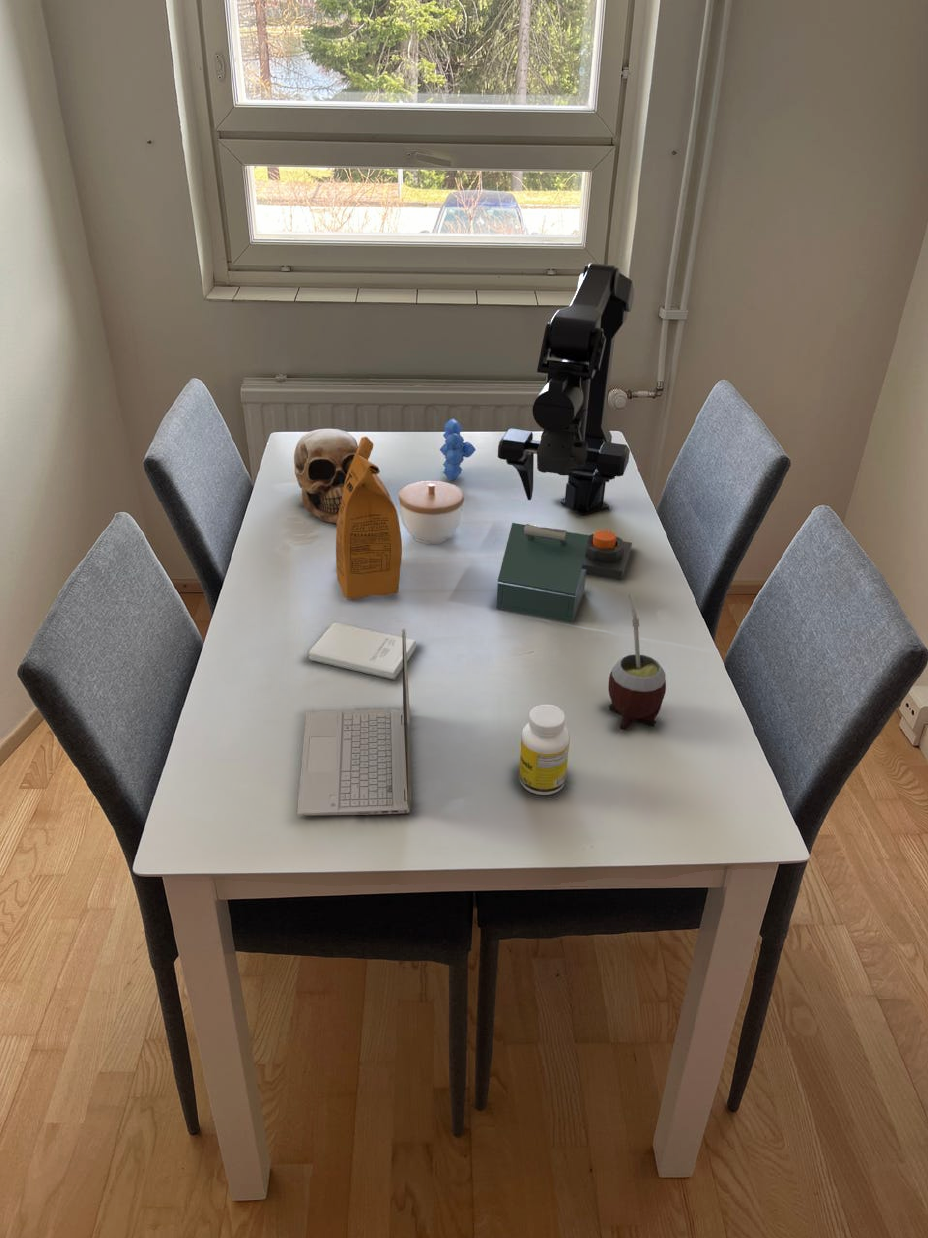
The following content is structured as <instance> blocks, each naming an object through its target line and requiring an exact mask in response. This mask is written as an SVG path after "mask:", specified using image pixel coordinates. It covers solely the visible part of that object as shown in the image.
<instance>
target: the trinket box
mask: <svg viewBox="0 0 928 1238" xmlns="http://www.w3.org/2000/svg"><path fill="white" fill-rule="evenodd" d="M464 500H465V494H464V491H463V490H462V489H461V488H460V487H459V486H457V485H456V484H453V483H449V482H446V481H440V480H421V481H415V482H411V483H410V484H407V485H405V486H404V487H402V488H401V489H400V491H399V492H398V501H399V512H400V513H399V514H400V519H401V522H402V524H403V527H404V528H405V530H406V532H408V533H409V535H411V537H412V538H413V539H414V540H415V541H417V542H418V543H421V544H425V545H438V544H442V543H444V542H446V541H447V540H448V539H449V538H450V537H451V536H452V535H453V534H454V533H455V532H456V531H457V529H458V528H459V526H460V523H461V521H462V517H463V511H464V510H463V508H464Z"/></svg>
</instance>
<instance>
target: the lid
mask: <svg viewBox="0 0 928 1238" xmlns="http://www.w3.org/2000/svg"><path fill="white" fill-rule="evenodd" d="M589 535H590V534H583V533H577V532H571V531H568V530H567V529H560V528H554V527H547V526H541V525H535V524H530V523H526V524H523V523H516V522H512V523H511V526H510V531H509V533H508V539H507V542H506V546H505V550H504V553H503V557H502V562H501V565H500V568H499V569H500V570H499V574H498V577H497V581H498V582H502V583H507V584H513V585H518V586H524V587H530V588H535V589H541V590H546V591H552V592H557V593H563V594H569V595H574V596H575V595H576V592H577V587H578V583H579V579H580V574H581V570H582V566H583V561H584V557H585V553H586V548H587V544H588V540H589Z"/></svg>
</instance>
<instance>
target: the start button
mask: <svg viewBox="0 0 928 1238" xmlns="http://www.w3.org/2000/svg"><path fill="white" fill-rule="evenodd" d="M593 534H594V536H593V546H595V547H597V548H601V549H612V548H614V547H615V543H616V536H617V535H616V533H615V532H614V531H611V530H608V529H599V530H596V531H594V532H593Z"/></svg>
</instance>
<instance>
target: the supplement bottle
mask: <svg viewBox="0 0 928 1238" xmlns="http://www.w3.org/2000/svg"><path fill="white" fill-rule="evenodd" d="M565 725H566V714H565V712H564V711H563V710H562V709H561V708H559V707H557V706H555V705H553V704H540V705H537V706H534V707H532V709H531V710H530V712H529V717H528V723H526V724H525V726H524V727H523V729H522V731H521V739H520V740H521V743H520V759H519V771H518V772H519V773H518V778H519V782H520V784H521V786H522V787H523V788H524V789H525V790H526V791H527V792H529V793H532V794H534V795H537V796H548V795H553V794H556V793H558V792H559V791H561V790H562V788H563V787H564V785H565V784H566V777H567V769H568V759H569V758H568V757H569V750H570V748H569V747H570V732H569V730H568V728H567V727H566V726H565Z"/></svg>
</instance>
